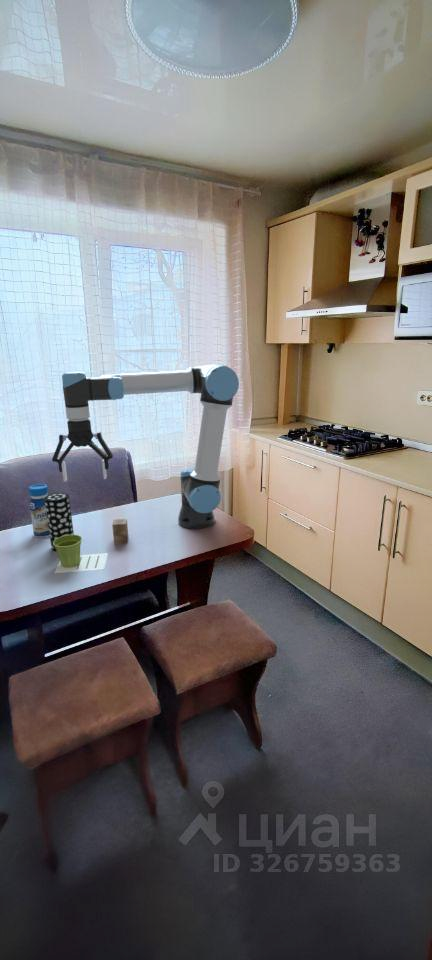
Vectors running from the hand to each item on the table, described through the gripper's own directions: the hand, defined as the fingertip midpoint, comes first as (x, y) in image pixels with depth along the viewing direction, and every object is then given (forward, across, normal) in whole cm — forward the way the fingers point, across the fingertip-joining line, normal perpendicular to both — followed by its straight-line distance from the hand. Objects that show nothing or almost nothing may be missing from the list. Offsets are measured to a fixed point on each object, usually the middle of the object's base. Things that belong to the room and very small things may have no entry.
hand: (85, 479), depth 153 cm
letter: (+26, +2, +12) cm, 29 cm away
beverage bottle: (+27, +21, -16) cm, 38 cm away
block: (+27, -10, -4) cm, 29 cm away
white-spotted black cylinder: (+27, +11, -2) cm, 29 cm away
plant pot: (+26, +6, +12) cm, 30 cm away
